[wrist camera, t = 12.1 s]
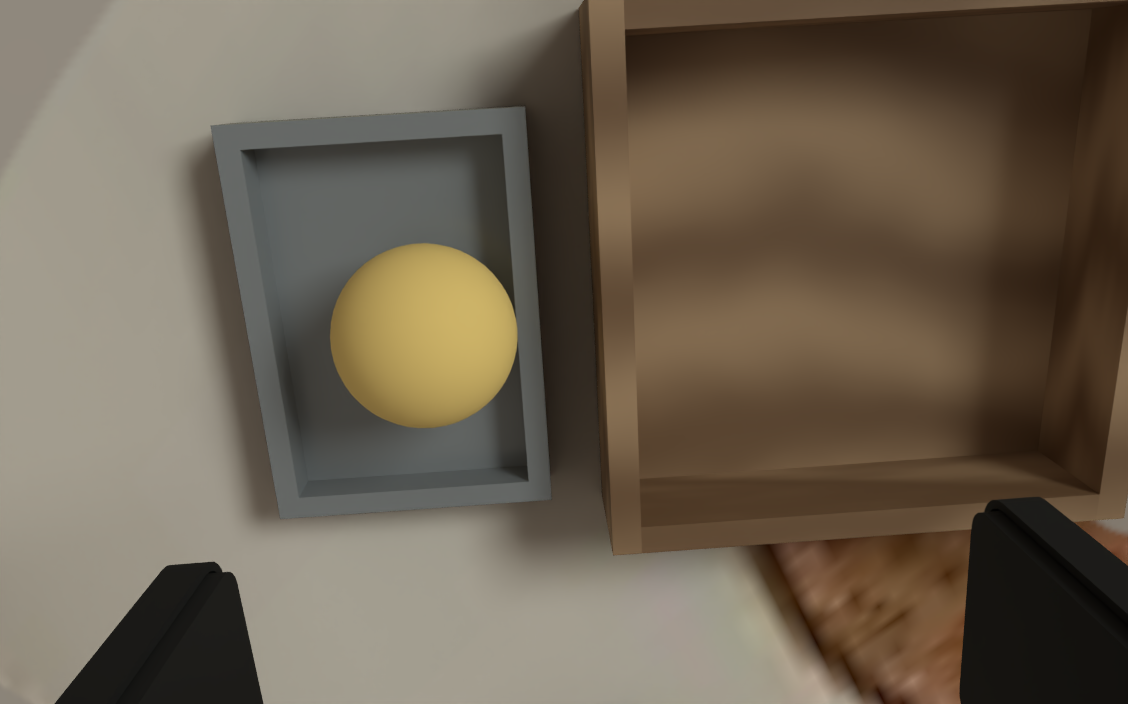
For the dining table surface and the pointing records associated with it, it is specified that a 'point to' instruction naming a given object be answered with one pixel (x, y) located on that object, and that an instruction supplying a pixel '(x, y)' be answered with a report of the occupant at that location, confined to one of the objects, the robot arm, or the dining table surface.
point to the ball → (423, 335)
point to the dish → (330, 258)
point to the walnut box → (855, 264)
